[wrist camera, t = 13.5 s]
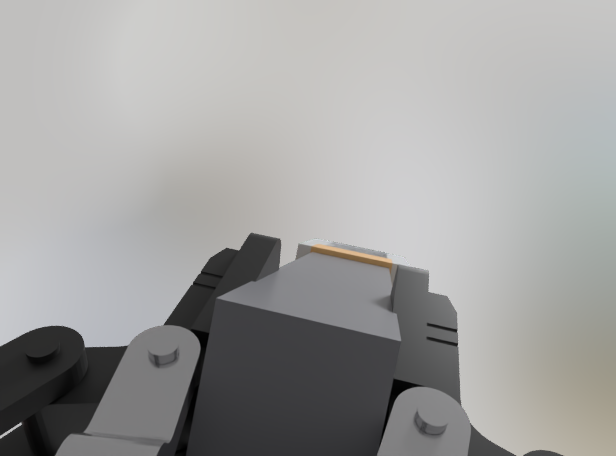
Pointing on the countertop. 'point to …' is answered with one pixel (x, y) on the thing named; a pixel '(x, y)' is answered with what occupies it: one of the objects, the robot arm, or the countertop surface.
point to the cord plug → (301, 358)
